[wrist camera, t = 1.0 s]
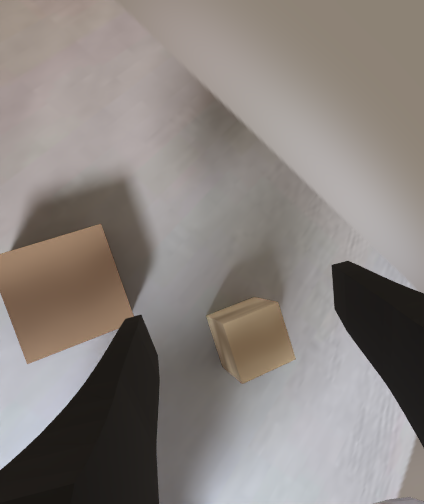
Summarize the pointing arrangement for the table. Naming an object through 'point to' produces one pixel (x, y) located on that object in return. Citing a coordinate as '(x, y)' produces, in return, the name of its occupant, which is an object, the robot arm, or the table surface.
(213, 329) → the beech cube
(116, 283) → the tan wooden block
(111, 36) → the table surface
